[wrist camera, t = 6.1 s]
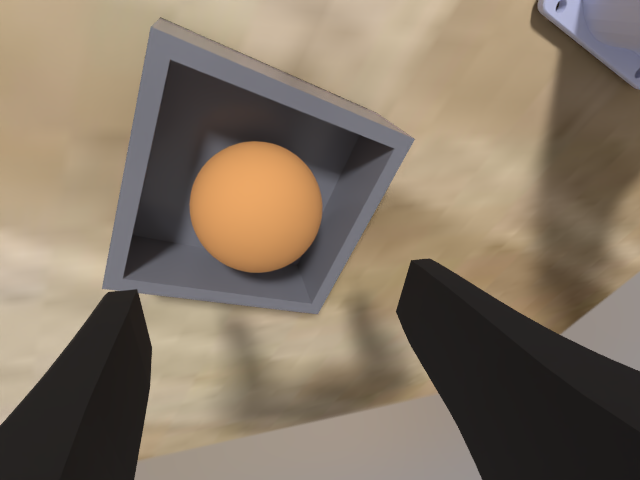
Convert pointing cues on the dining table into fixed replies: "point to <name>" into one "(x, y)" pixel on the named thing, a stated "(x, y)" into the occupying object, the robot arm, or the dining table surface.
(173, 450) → the dining table surface
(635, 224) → the dining table surface
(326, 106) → the grey open-top box
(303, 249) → the ball
